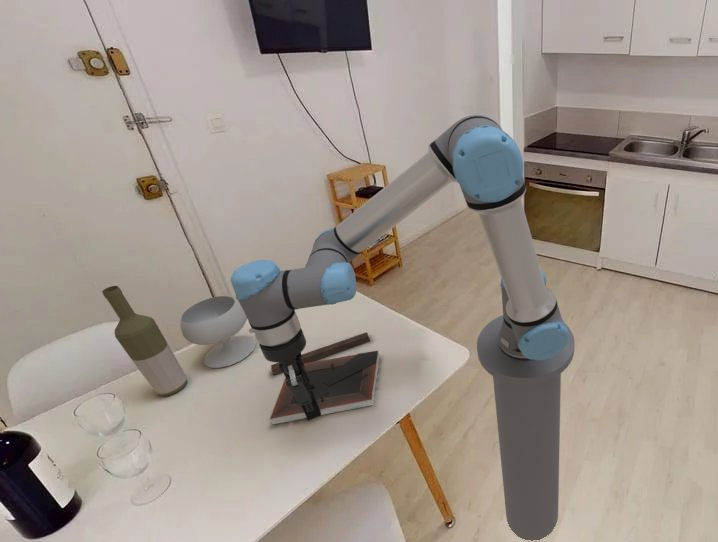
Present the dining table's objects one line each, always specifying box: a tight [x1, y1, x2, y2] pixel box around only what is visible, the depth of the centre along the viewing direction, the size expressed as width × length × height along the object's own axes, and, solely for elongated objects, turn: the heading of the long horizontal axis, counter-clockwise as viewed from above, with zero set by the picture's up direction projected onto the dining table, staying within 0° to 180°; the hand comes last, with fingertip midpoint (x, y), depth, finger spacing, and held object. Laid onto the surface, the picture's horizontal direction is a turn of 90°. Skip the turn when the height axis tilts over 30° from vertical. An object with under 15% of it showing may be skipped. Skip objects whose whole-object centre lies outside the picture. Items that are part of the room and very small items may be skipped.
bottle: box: [101, 285, 188, 397], centre depth 94 cm, size 7×7×30 cm
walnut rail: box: [270, 331, 371, 376], centre depth 110 cm, size 24×2×2 cm, turn 120°
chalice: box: [179, 295, 257, 369], centre depth 109 cm, size 14×14×15 cm
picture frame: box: [269, 350, 380, 425], centre depth 100 cm, size 16×2×22 cm
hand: (314, 415), depth 91 cm, fingers closed
